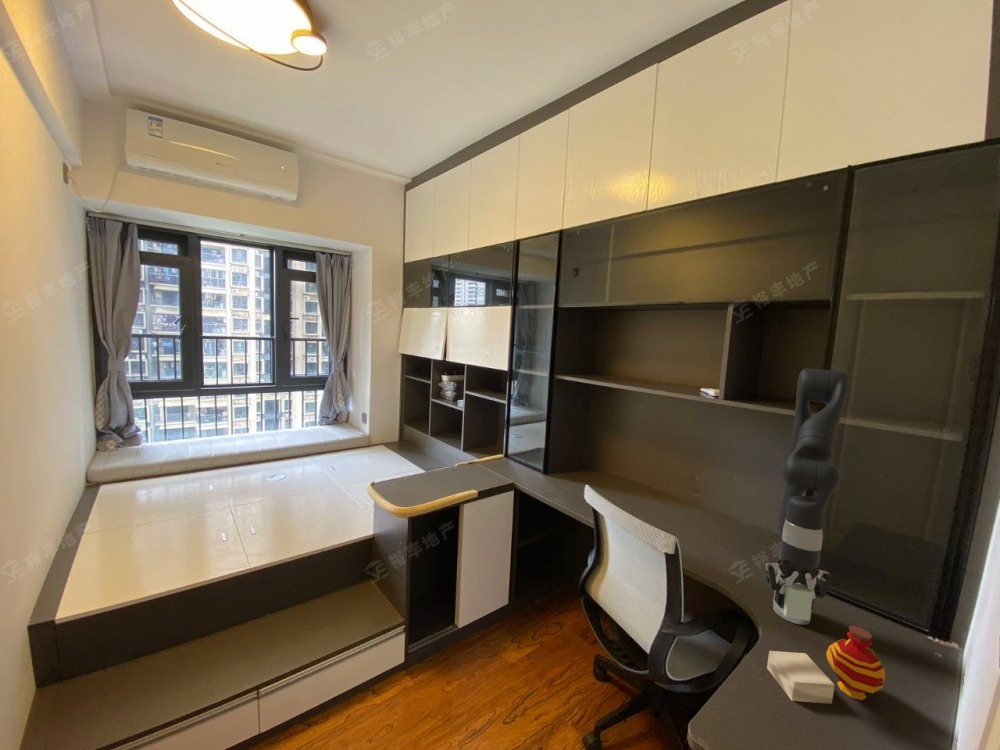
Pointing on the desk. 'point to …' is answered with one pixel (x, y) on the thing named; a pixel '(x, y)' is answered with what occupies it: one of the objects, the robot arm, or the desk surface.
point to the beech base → (800, 677)
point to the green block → (797, 602)
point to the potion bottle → (856, 664)
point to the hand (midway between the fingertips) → (792, 607)
